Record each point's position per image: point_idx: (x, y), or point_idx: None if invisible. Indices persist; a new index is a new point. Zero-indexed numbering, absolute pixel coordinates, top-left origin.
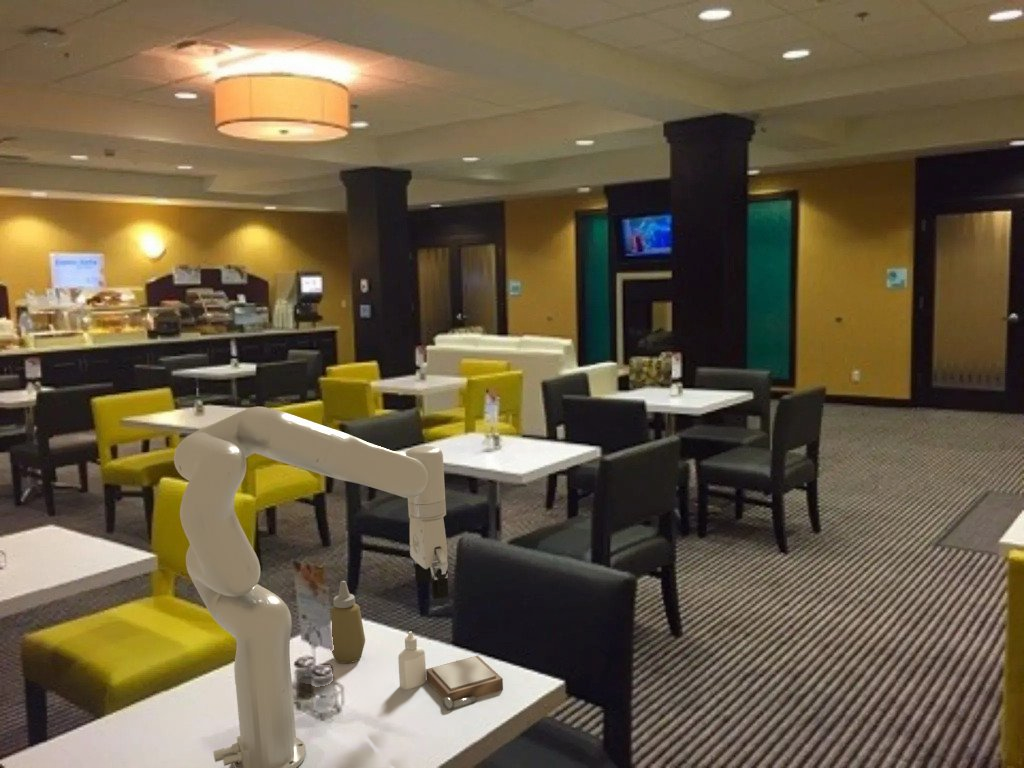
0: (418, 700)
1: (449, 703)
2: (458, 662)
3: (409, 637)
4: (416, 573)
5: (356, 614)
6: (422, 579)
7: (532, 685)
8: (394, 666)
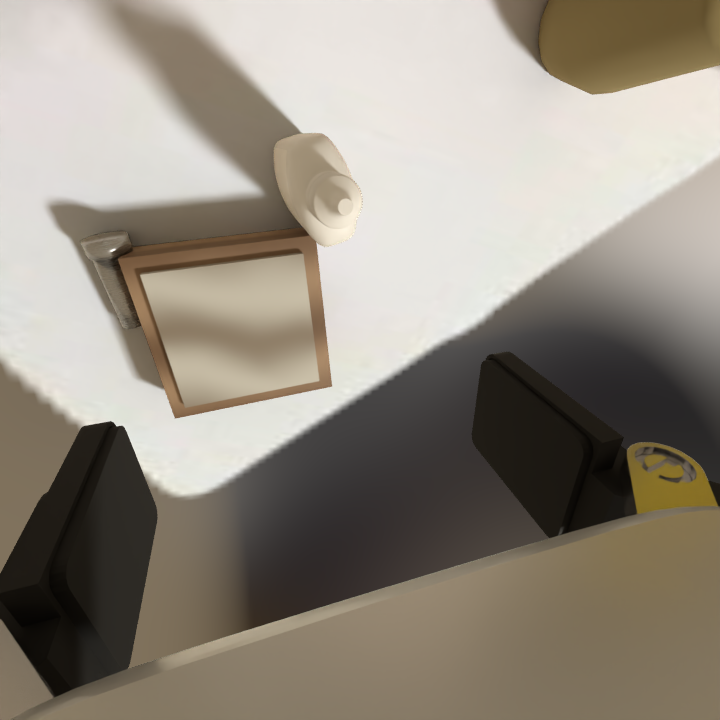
0: (207, 169)
1: (84, 248)
2: (306, 334)
3: (331, 195)
4: (537, 393)
5: (684, 25)
6: (488, 401)
7: (192, 457)
8: (444, 163)
